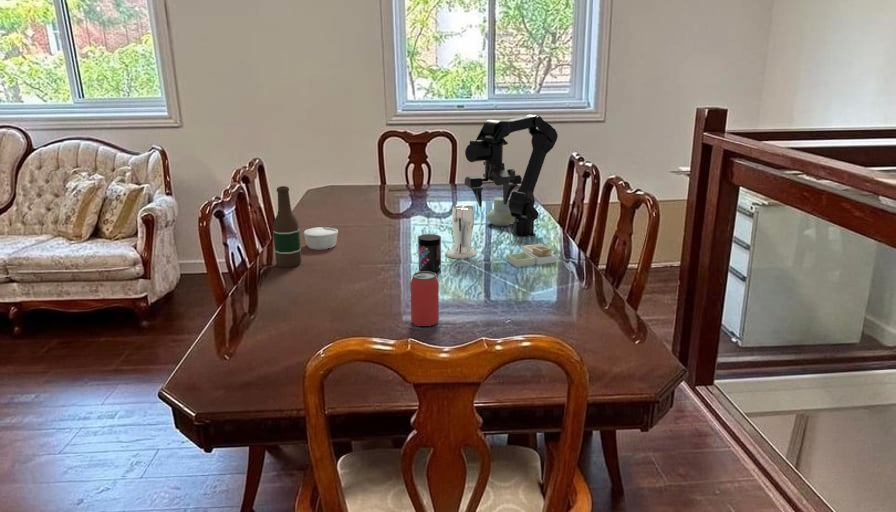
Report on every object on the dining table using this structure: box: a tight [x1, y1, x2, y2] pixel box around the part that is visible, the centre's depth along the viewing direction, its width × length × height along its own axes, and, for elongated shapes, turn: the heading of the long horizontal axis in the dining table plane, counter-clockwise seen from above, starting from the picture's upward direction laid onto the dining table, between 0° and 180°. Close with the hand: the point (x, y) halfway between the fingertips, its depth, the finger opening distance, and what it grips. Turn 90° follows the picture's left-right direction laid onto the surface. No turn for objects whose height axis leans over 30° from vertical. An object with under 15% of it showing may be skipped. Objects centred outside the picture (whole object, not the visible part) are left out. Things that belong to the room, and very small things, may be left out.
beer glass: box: [451, 204, 475, 255], centre depth 195 cm, size 7×7×15 cm
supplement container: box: [417, 233, 442, 274], centre depth 180 cm, size 7×7×10 cm
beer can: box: [409, 271, 440, 327], centre depth 144 cm, size 7×7×12 cm
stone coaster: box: [445, 248, 478, 260], centre depth 197 cm, size 10×10×1 cm
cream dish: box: [521, 243, 544, 254], centre depth 196 cm, size 6×6×2 cm
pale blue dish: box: [528, 252, 557, 266], centre depth 189 cm, size 6×6×2 cm
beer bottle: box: [272, 185, 302, 269], centre depth 184 cm, size 8×8×24 cm
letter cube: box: [533, 245, 552, 258], centre depth 189 cm, size 4×4×4 cm
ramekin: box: [303, 226, 339, 251], centre depth 206 cm, size 11×11×5 cm
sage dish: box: [506, 252, 536, 268], centre depth 187 cm, size 6×6×2 cm
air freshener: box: [486, 196, 515, 227], centre depth 232 cm, size 11×8×10 cm
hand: (492, 205), depth 206 cm, fingers open, 9 cm apart
